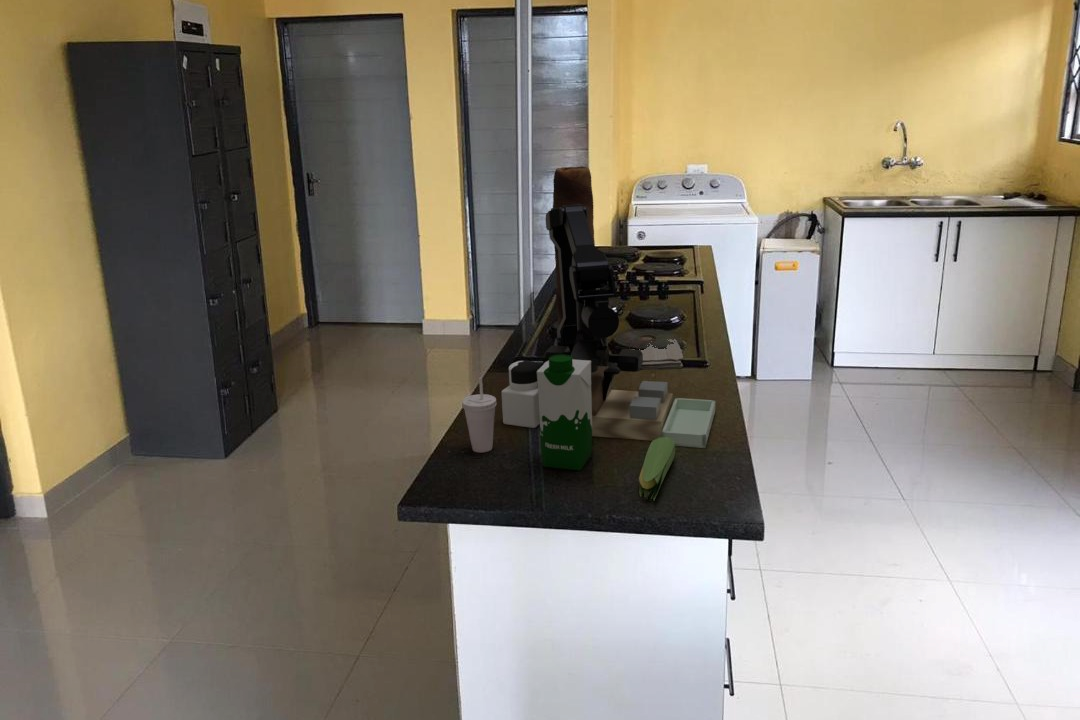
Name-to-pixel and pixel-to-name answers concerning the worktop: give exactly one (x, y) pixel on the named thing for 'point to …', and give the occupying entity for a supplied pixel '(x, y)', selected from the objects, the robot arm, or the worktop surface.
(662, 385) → the tile
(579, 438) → the milk carton
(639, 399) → the tile
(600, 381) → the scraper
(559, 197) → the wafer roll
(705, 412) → the tray
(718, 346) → the worktop surface
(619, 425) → the board
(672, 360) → the washcloth
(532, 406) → the medicine bottle
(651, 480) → the edible corn
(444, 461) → the worktop surface
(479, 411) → the smoothie
